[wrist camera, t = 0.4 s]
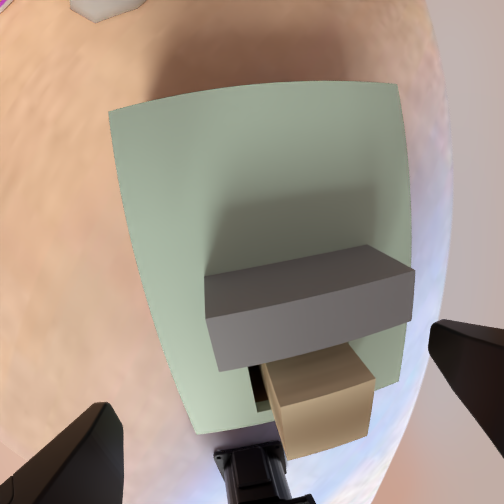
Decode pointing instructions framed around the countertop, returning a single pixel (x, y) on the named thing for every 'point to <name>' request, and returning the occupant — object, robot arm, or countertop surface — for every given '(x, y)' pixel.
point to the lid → (268, 232)
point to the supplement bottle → (4, 4)
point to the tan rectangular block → (319, 399)
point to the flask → (103, 8)
